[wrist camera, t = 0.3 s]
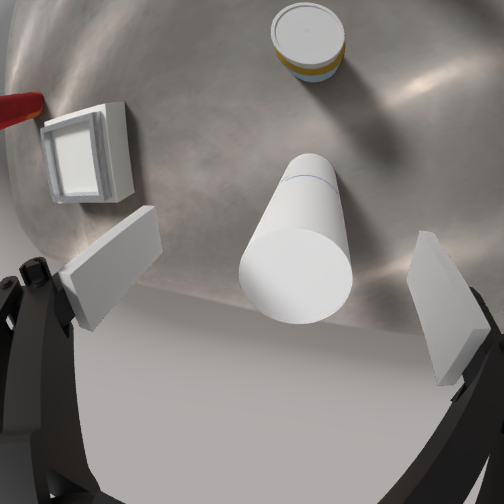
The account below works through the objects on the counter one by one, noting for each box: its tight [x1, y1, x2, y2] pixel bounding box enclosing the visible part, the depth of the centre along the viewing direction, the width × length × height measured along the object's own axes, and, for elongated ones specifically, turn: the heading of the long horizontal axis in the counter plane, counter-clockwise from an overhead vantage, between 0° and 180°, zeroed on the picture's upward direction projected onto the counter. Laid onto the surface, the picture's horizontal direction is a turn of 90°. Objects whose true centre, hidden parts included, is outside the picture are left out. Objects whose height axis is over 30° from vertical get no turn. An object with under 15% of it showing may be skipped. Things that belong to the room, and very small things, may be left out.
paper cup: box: [0, 92, 44, 130], centre depth 35 cm, size 8×8×14 cm
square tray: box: [40, 101, 135, 203], centre depth 41 cm, size 16×16×7 cm
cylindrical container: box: [239, 154, 353, 324], centre depth 28 cm, size 7×7×25 cm
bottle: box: [271, 3, 345, 82], centre depth 24 cm, size 7×7×15 cm
